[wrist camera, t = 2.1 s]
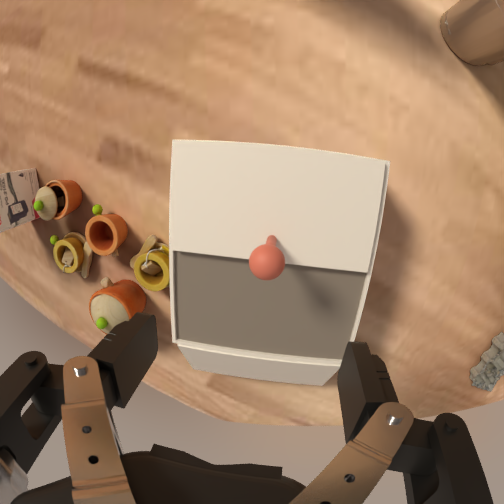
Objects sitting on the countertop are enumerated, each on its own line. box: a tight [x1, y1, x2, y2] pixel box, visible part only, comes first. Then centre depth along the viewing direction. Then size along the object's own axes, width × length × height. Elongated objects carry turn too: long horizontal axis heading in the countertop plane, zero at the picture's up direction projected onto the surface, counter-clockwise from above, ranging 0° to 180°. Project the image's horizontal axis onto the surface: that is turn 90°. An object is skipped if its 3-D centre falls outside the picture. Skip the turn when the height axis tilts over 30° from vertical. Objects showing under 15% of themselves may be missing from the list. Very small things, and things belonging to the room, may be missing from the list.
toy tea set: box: [34, 180, 170, 334], centre depth 38 cm, size 26×16×10 cm, turn 54°
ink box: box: [0, 168, 40, 233], centre depth 35 cm, size 8×5×12 cm, turn 11°
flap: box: [173, 142, 386, 280], centre depth 23 cm, size 19×10×8 cm, turn 85°
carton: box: [169, 140, 390, 386], centre depth 35 cm, size 20×31×10 cm, turn 175°
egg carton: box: [470, 332, 504, 392], centre depth 37 cm, size 11×8×4 cm
